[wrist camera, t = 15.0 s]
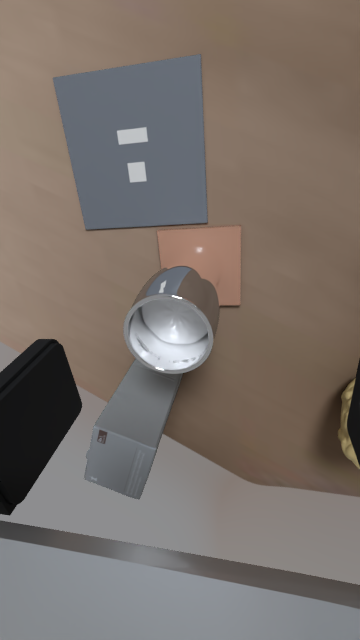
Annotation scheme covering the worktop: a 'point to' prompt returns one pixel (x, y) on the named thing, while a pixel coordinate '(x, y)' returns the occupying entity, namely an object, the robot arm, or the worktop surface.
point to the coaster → (221, 244)
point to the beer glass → (176, 313)
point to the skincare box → (131, 430)
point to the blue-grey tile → (137, 143)
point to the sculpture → (343, 431)
